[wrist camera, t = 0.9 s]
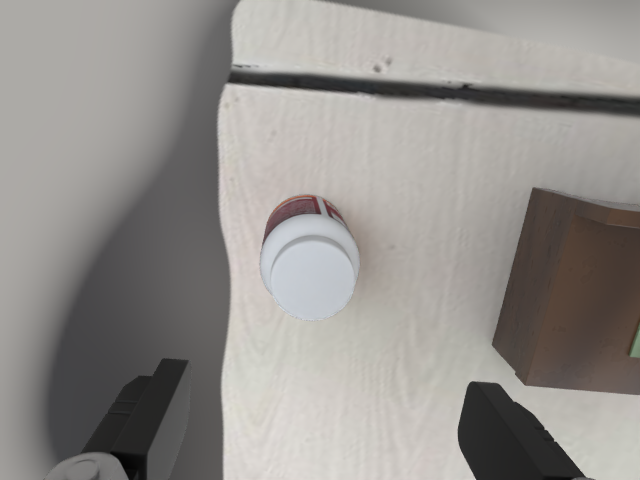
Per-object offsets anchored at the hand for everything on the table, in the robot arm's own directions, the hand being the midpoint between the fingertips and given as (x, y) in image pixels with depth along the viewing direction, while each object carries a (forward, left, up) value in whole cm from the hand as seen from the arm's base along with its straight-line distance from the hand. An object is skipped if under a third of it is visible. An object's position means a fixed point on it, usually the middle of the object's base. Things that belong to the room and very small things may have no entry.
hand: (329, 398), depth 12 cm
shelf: (+25, +13, -22) cm, 36 cm away
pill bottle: (0, 0, -22) cm, 22 cm away
